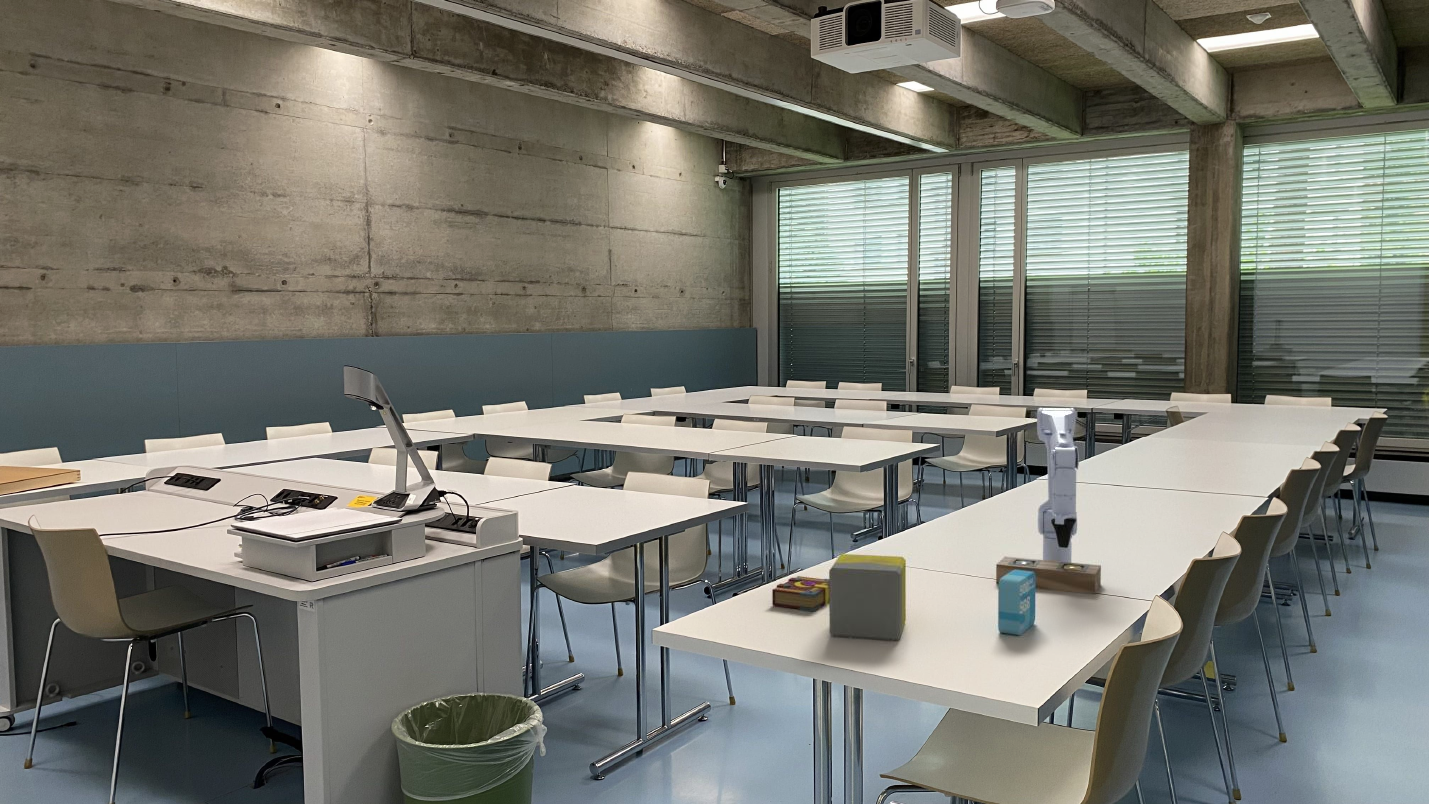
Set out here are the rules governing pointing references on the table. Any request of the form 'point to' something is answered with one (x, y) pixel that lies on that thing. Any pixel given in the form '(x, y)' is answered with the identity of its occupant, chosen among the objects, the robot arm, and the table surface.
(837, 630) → the yellow-topped grey cube
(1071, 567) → the brass peg
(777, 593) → the decorative book
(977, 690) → the table surface
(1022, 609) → the data package
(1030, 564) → the steel peg
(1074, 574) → the wooden block
